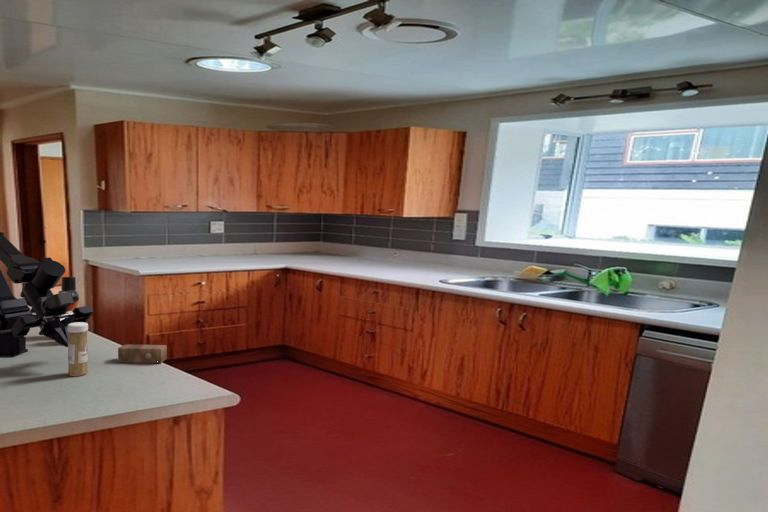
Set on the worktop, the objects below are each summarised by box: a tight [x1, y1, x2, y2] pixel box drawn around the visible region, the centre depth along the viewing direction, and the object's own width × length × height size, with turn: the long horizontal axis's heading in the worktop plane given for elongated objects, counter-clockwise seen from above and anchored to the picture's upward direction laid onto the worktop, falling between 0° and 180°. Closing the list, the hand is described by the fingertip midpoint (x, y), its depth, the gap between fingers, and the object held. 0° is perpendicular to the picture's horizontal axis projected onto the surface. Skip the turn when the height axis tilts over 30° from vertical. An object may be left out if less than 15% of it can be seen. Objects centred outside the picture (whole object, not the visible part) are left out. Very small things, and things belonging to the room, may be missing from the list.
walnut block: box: [117, 344, 168, 364], centre depth 144 cm, size 4×4×12 cm
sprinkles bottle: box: [67, 322, 89, 377], centre depth 130 cm, size 5×5×13 cm
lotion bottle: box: [57, 276, 80, 314], centre depth 162 cm, size 6×6×20 cm
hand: (68, 345), depth 131 cm, fingers closed
